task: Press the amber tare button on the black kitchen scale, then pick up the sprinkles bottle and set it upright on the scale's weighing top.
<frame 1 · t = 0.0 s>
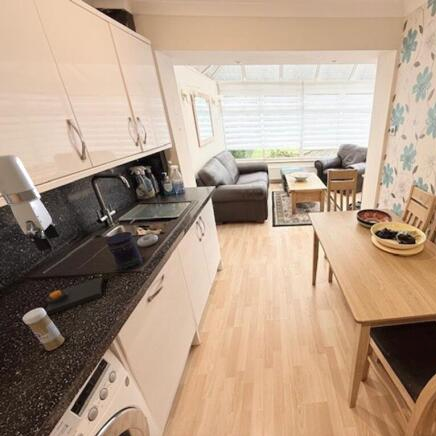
hand: (50, 243, 82), 25 cm above the countertop, tool pointing down, fingers open, 9 cm apart
storage jar: (131, 265, 112), on the countertop
tare button: (55, 294, 90), point 4 cm above the countertop, slide at 0.1 cm
donut: (148, 243, 129), on the countertop
scale: (78, 296, 94), on the countertop
sprinkles bottle: (56, 344, 74), on the countertop
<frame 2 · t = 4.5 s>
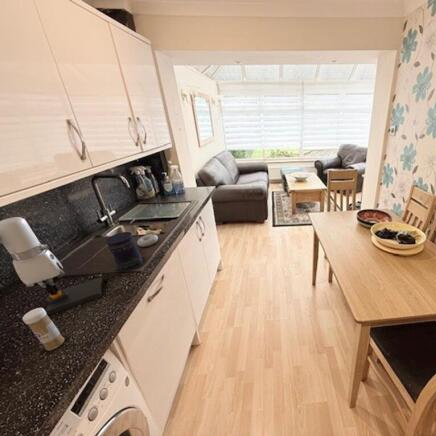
hand: (55, 292, 90), 5 cm above the countertop, tool pointing down, fingers closed
tare button: (55, 294, 90), point 4 cm above the countertop, slide at 0.1 cm, touching gripper
everything else where it was.
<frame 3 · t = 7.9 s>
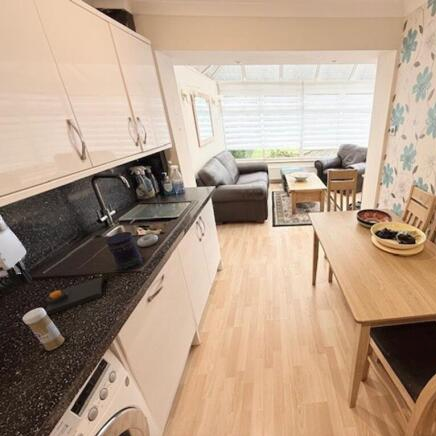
hand: (24, 283, 71), 20 cm above the countertop, tool pointing down, fingers closed
tare button: (55, 294, 90), point 4 cm above the countertop, slide at 0.1 cm
everything else where it was.
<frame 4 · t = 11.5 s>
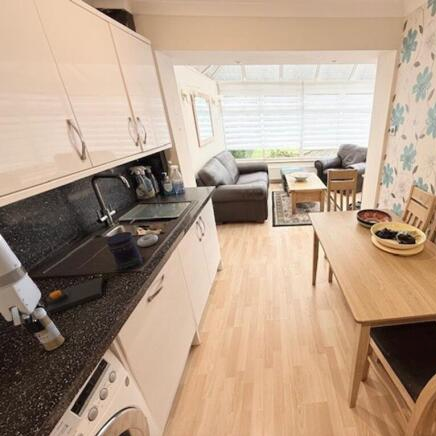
hand: (41, 324, 71), 9 cm above the countertop, tool pointing down, fingers closed on sprinkles bottle, 4 cm apart
sprinkles bottle: (56, 344, 74), on the countertop, touching gripper
everything else where it was.
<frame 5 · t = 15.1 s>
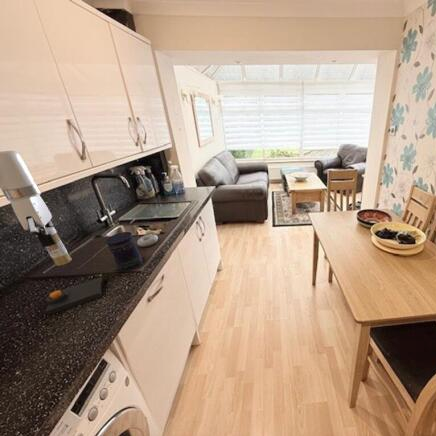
hand: (51, 241, 82), 26 cm above the countertop, tool pointing down, fingers closed on sprinkles bottle, 4 cm apart
sprinkles bottle: (64, 262, 86), point 17 cm above the countertop, touching gripper
everything else where it was.
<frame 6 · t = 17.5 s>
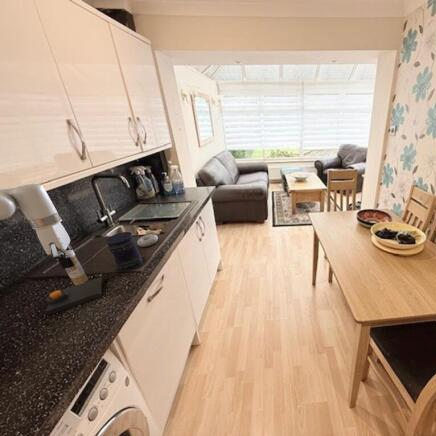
hand: (70, 263, 89), 15 cm above the countertop, tool pointing down, fingers closed on sprinkles bottle, 4 cm apart
sprinkles bottle: (81, 281, 93), point 6 cm above the countertop, touching gripper
everything else where it was.
when the fingers open (11 cm above the countertop, at t = 19.1 s): sprinkles bottle stays where it is, resting on scale.
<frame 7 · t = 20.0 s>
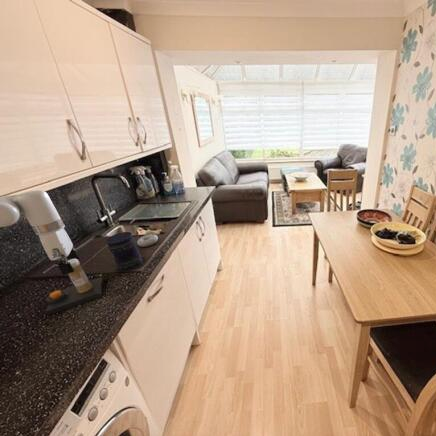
hand: (71, 266, 90), 13 cm above the countertop, tool pointing down, fingers open, 9 cm apart
sprinkles bottle: (85, 289, 95), point 2 cm above the countertop, touching scale
everything else where it was.
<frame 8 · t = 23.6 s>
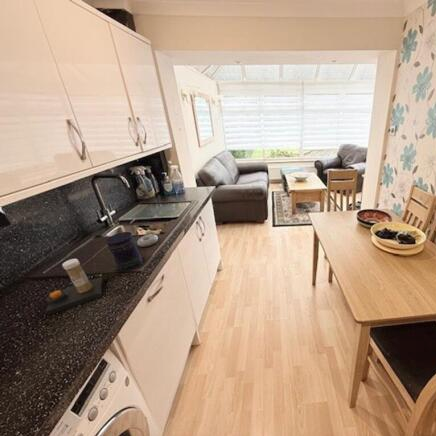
nothing on the countertop moved.
at the end: tare button pushed in 0.9 cm at the most during the clip, back to where it started at the end; sprinkles bottle inside the target area on the scale (0.2 cm from its centre), point 1.7 cm above the scale's base; sprinkles bottle tilted 0° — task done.
